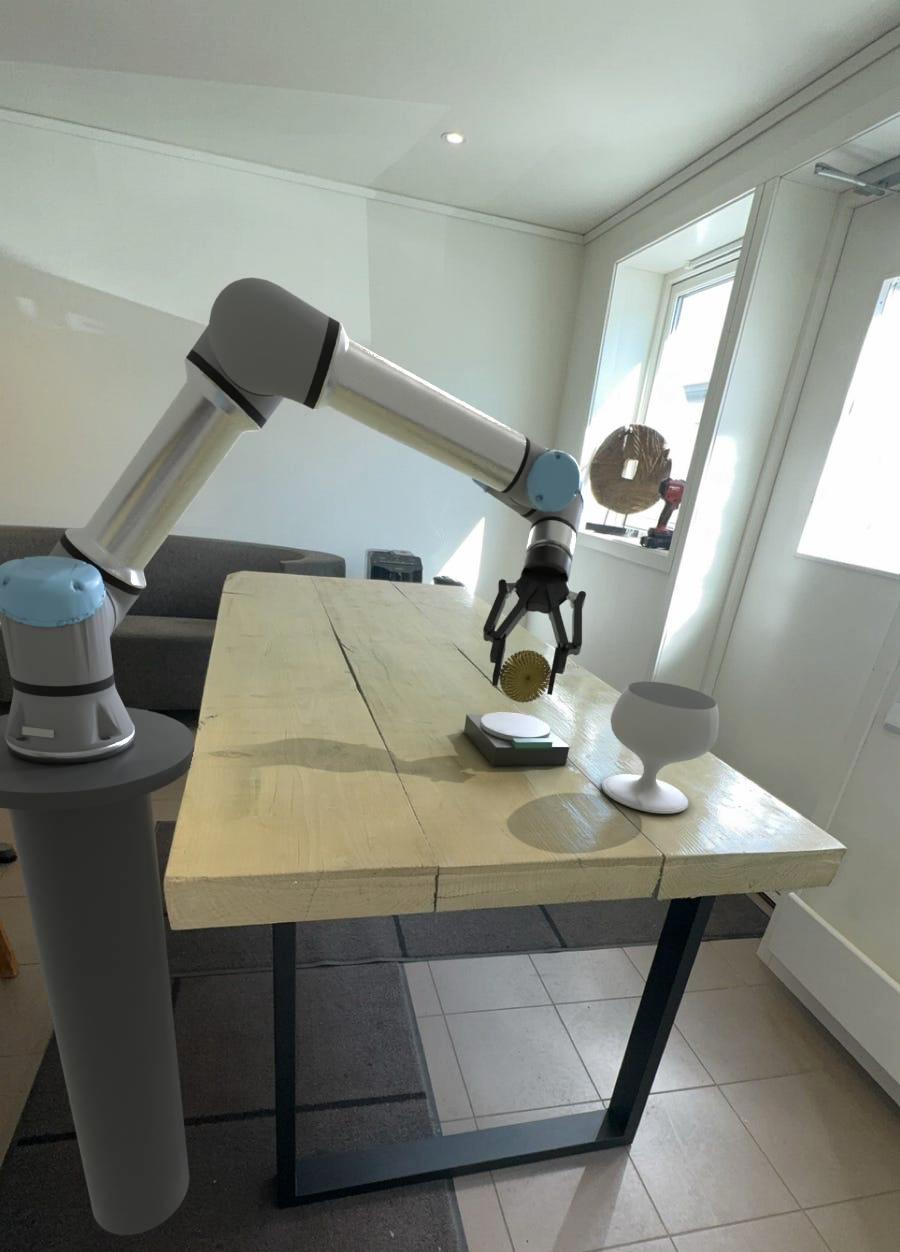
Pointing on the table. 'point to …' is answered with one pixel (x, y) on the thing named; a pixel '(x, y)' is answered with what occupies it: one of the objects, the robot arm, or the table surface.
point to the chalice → (660, 740)
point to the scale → (515, 739)
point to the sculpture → (525, 676)
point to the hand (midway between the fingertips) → (522, 685)
